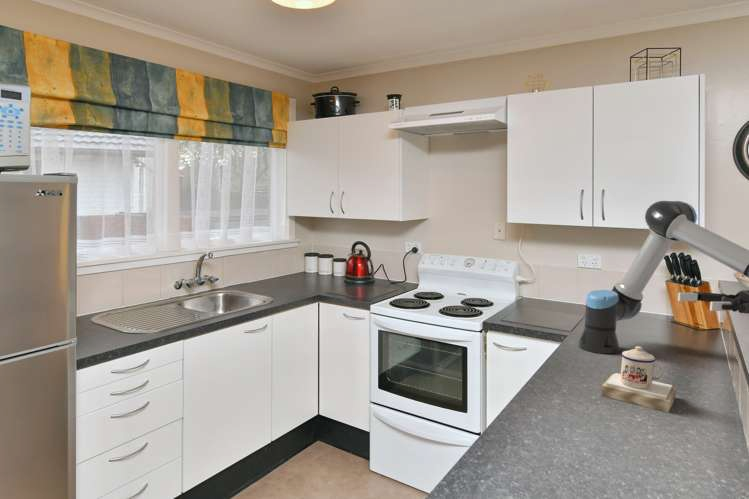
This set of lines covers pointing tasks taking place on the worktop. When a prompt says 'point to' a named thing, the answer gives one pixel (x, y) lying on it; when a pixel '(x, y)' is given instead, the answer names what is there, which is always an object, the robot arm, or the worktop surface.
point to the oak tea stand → (640, 393)
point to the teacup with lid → (638, 368)
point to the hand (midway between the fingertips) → (694, 301)
